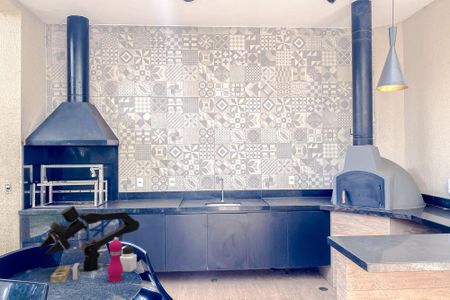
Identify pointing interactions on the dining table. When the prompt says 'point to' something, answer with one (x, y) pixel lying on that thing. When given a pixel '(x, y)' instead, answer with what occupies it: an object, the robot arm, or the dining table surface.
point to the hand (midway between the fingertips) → (43, 250)
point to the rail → (60, 274)
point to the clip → (76, 271)
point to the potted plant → (128, 259)
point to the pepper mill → (115, 261)
